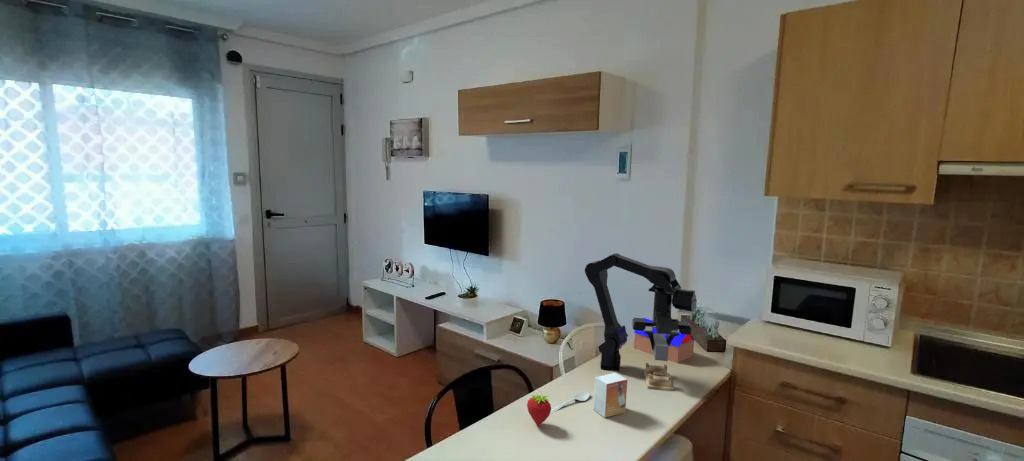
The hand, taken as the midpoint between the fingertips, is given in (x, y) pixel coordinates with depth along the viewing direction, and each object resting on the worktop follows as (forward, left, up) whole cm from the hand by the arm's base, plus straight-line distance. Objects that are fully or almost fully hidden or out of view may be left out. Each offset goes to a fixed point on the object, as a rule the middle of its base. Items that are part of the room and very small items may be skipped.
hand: (659, 350), depth 164 cm
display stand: (0, 0, -11) cm, 11 cm away
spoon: (-30, -24, -12) cm, 40 cm away
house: (+6, +28, -11) cm, 30 cm away
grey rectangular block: (0, 0, -1) cm, 1 cm away
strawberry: (-37, -37, -11) cm, 53 cm away
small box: (-17, -25, -11) cm, 32 cm away
